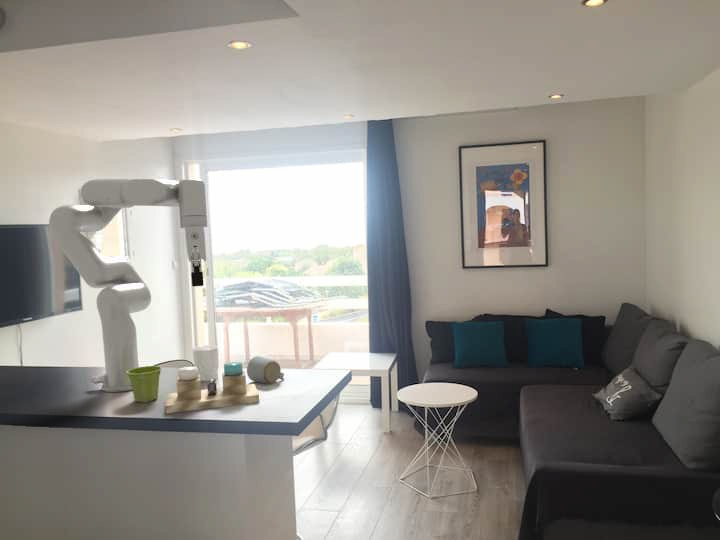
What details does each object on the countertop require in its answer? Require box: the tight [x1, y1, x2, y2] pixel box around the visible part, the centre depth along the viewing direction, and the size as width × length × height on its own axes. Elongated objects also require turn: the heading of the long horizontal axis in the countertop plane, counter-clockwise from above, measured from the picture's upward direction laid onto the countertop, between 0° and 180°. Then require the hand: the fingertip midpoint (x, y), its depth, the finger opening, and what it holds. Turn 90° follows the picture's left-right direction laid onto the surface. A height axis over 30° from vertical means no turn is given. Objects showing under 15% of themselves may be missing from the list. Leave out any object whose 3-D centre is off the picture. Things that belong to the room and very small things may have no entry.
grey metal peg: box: [206, 379, 218, 396], centre depth 159 cm, size 2×2×4 cm
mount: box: [165, 369, 260, 414], centre depth 159 cm, size 24×12×7 cm, turn 106°
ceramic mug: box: [246, 355, 285, 385], centre depth 178 cm, size 11×8×8 cm
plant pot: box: [126, 365, 163, 403], centre depth 164 cm, size 9×9×9 cm
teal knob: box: [223, 361, 244, 376], centre depth 160 cm, size 5×5×8 cm
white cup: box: [192, 344, 219, 382], centre depth 185 cm, size 8×8×10 cm
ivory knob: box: [177, 366, 198, 381], centre depth 157 cm, size 5×5×8 cm
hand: (197, 285), depth 168 cm, fingers closed
